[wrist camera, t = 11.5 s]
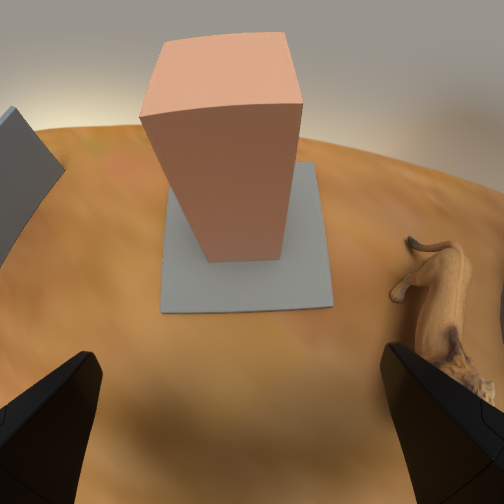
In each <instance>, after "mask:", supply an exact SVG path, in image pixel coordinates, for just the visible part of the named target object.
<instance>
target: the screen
mask: <svg viewBox="0 0 504 504" xmlns="http://www.w3.org/2000/svg"><path fill="white" fill-rule="evenodd" d="M64 171H65V169H64V168H63V166H62V165H61V164H60V163H59V162H58V160H57V159H56V158H55V157H54V156H53V154H52V153H51V152H50V151H49V150H48V148H47V147H46V146H45V145H44V143H43V142H42V141H41V140H40V138H39V137H38V136H37V135H36V133H35V132H34V131H33V130H32V128H31V127H30V126H29V124H28V123H27V122H26V120H25V119H24V118H23V116H22V115H21V114H20V113H19V111H18V110H17V108H15V107H13V106H11V107H10V108H9V109H8V110H7V111H6V112H5V113H4V114H3V115H2V117H1V118H0V267H1V265H2V263H3V261H4V260H5V258H6V256H7V254H8V253H9V251H10V249H11V247H12V246H13V244H14V242H15V241H16V239H17V237H18V236H19V234H20V233H21V231H22V230H23V228H24V226H25V225H26V223H27V222H28V220H29V219H30V217H31V216H32V214H33V213H34V211H35V210H36V209H37V207H38V206H39V204H40V203H41V202H42V200H43V199H44V197H45V196H46V195H47V193H48V192H49V191H50V189H51V188H52V187H53V185H54V184H55V183H56V181H57V180H58V179H59V178H60V176H61V175H62V174H63V173H64Z"/></svg>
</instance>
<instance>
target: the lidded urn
mask: <svg viewBox="0 0 504 504" xmlns="http://www.w3.org/2000/svg"><path fill="white" fill-rule="evenodd" d="M500 320H501V327H502V336H503V343H504V286H503V291H502V296H501V319H500Z"/></svg>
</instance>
